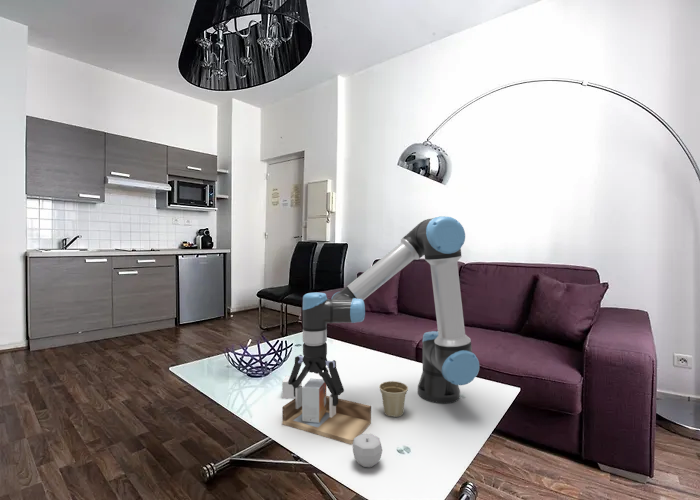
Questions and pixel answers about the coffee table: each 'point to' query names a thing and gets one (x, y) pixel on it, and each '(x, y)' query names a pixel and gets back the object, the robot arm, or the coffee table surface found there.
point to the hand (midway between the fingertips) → (315, 411)
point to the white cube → (288, 388)
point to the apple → (367, 449)
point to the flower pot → (393, 397)
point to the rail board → (332, 420)
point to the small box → (313, 400)
